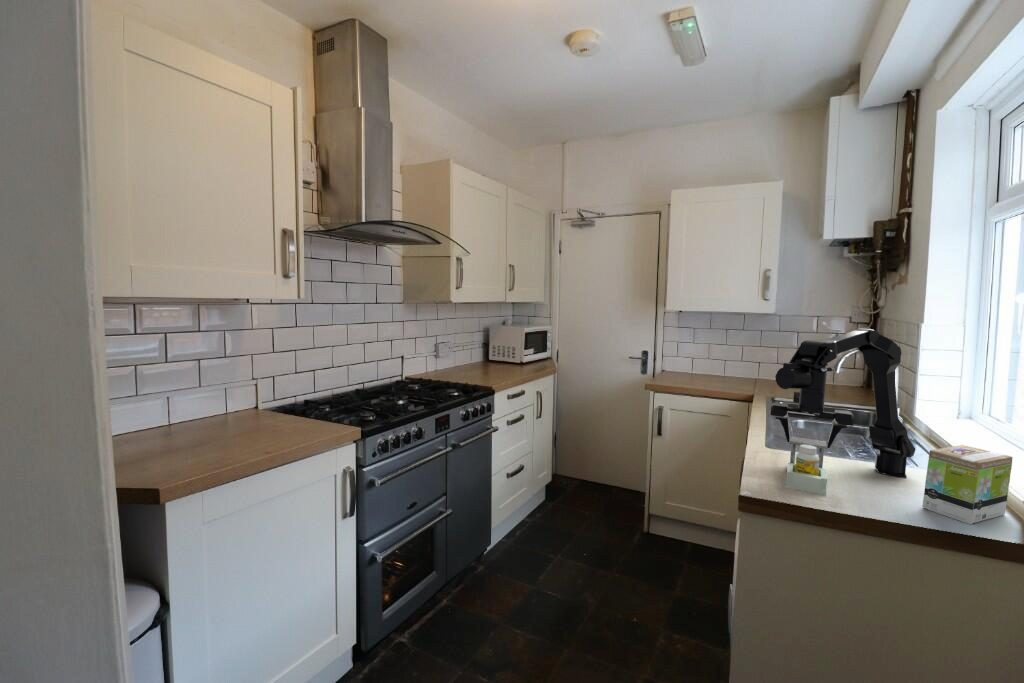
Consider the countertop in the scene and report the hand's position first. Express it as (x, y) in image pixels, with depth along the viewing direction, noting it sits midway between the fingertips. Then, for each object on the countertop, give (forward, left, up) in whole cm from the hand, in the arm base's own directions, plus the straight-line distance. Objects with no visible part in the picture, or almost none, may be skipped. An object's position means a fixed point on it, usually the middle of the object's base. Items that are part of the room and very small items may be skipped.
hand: (808, 444), depth 129 cm
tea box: (-33, -2, -11) cm, 35 cm away
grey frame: (0, -12, -11) cm, 16 cm away
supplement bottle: (0, 0, -10) cm, 10 cm away
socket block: (0, -5, -11) cm, 12 cm away
